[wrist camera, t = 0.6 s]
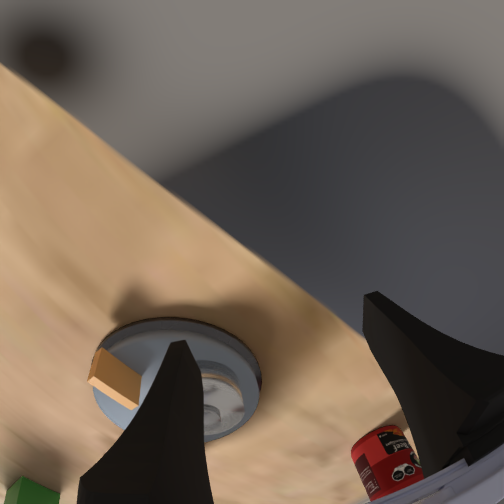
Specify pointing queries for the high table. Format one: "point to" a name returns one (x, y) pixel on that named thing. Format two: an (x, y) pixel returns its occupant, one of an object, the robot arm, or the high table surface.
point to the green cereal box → (30, 493)
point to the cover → (220, 397)
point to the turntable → (147, 365)
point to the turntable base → (188, 326)
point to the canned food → (386, 462)
